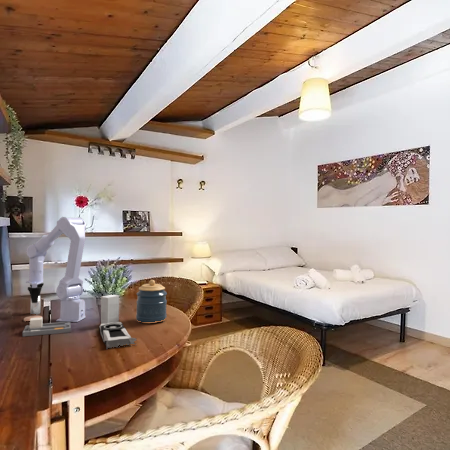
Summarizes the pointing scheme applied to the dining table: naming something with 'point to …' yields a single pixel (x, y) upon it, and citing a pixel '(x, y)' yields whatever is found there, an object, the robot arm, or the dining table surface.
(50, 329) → the switch panel
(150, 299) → the canister
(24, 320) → the coaster
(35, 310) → the clear grey cup
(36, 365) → the dining table surface
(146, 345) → the dining table surface
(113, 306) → the skincare box
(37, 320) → the switch tab
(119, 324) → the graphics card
